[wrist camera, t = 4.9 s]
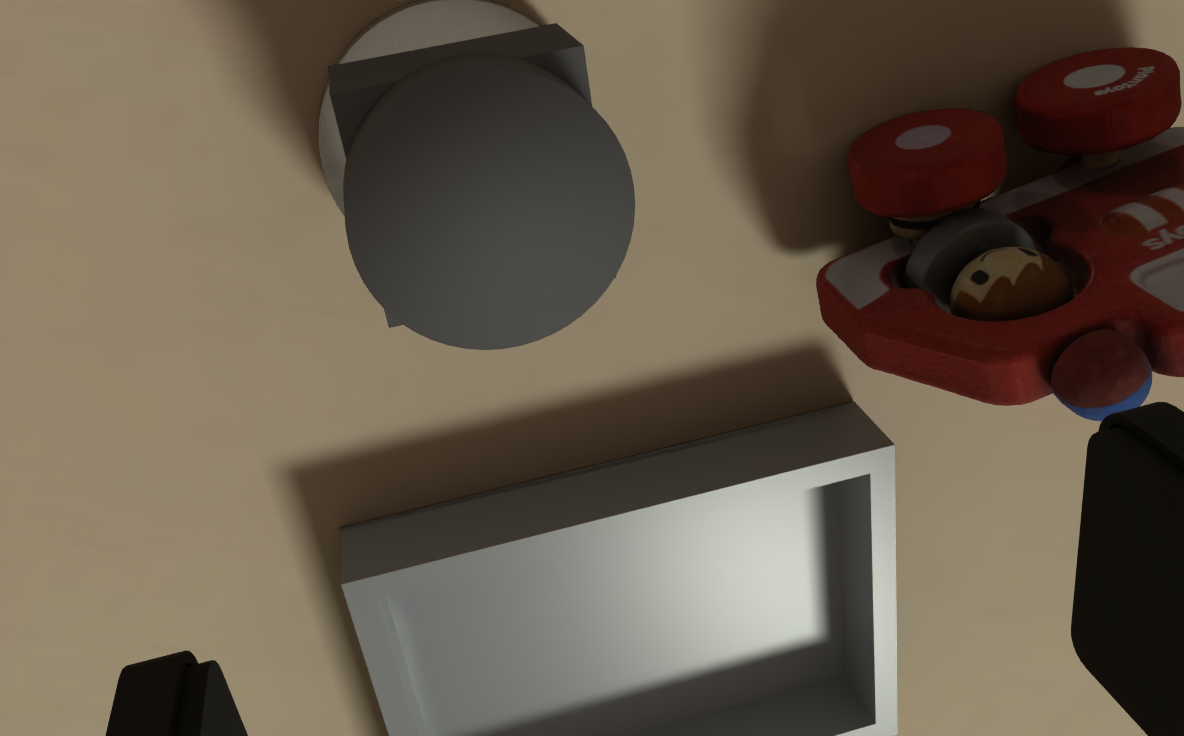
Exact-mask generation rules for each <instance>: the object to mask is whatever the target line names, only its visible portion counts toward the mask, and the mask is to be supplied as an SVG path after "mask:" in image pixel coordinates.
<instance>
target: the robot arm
mask: <svg viewBox="0 0 1184 736" xmlns="http://www.w3.org/2000/svg"><path fill="white" fill-rule="evenodd" d="M1071 637H1072V642H1073V646H1074V648H1075V651H1076V653H1077V655H1078V657H1079V659H1080V661H1081V662H1082V663H1083V665H1084V666H1085V667H1086V669H1087V670H1088V671H1089V672H1090V673H1091V674H1092V675H1093V676H1094V677H1095V678H1096V679H1097V681H1098V682H1099V683H1100V684H1101V685H1102V686H1103V687H1104V688H1105V689H1106V690H1107V691H1108V693H1109V694H1110V695H1111V696H1112V697H1113V698H1114V699H1115V700H1116V701H1117V702H1118V703H1119V705H1120V706H1121V707H1122V708H1123V709H1124V710H1125V711H1126V712H1127V713H1128V714H1129V715H1130V717H1131V718H1132V719H1133V720H1134V721H1135V722H1136V723H1137V724H1138V725H1139V726H1140V727H1141V729H1142V730H1143V731H1144V732H1145V733H1146V734H1147V735H1148V736H1184V412H1183V411H1181V410H1180V409H1178V408H1177V407H1175V406H1173V405H1171V404H1169V403H1167V402H1156V403H1152V404H1148V405H1144V406H1140V407H1136V408H1133V409H1129V410H1125V411H1121V412H1117V413H1113V414H1110V415H1108V416H1106V417H1105V418H1104V419H1103V421H1102V422H1101V424H1100V428H1099V432H1097V433H1095V434H1093V435H1092V436H1091V438H1090V439H1089V442H1088V447H1087V457H1086V468H1085V479H1084V490H1083V501H1082V512H1081V523H1080V535H1079V546H1078V557H1077V568H1076V579H1075V590H1074V601H1073V612H1072V623H1071ZM106 736H248V735H247V732H246V730H245V727H244V725H243V722H242V720H241V717H240V715H239V712H238V710H237V707H236V705H235V702H234V700H233V697H232V695H231V692H230V690H229V688H228V685H227V683H226V680H225V678H224V675H223V673H222V670H221V668H220V666H219V664H218V663H217V662H216V661H214V660H211V661H207V662H204V663H200V664H198V662H197V660H196V658H195V656H194V655H193V654H192V653H191V652H190V651H182V652H178V653H174V654H170V655H167V656H163V657H159V658H155V659H151V660H147V661H143V662H139V663H135V664H131V665H127V666H126V667H124V668H123V669H122V671H121V674H120V677H119V680H118V684H117V689H116V693H115V697H114V702H113V706H112V710H111V714H110V719H109V723H108V727H107V732H106Z"/></svg>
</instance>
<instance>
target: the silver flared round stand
mask: <svg viewBox="0 0 1184 736" xmlns="http://www.w3.org/2000/svg"><path fill="white" fill-rule="evenodd" d="M534 27H539V26H538V25H537V24H536V23H535V22H534V21H532V20H530V19H529V18H527V17H526V16H524V15H523V14H521V13H520V12H518V11H516V10H513V9H511V8H509V7H507V6H505V5H503V4H500V3H497V2H493V1H490V0H416V1H412V2H409V3H407V4H404V5H402V6H400V7H397V8H395V9H393V10H391V11H389V12H387V13H386V14H384V15H382V16H381V17H379V18H377V19H376V20H375V21H373V22H372V23H371V24H369V25H368V26H367V27H366V28H364V29H363V30H362V31H361V32H360V33H359V34H358V35H357V36H356V37H355V38H354V39H353V40H352V41H351V42H350V43H349V45H348V46H347V48H346V49H345V50H344V52H343V53H342V54H341V56H340V57H339V59H338V61H337V62H336V64H335V65H337V64H342V63H348V62H353V61H358V60H364V59H369V58H374V57H380V56H385V55H390V54H395V53H401V52H406V51H411V50H417V49H422V48H427V47H433V46H438V45H443V44H449V43H454V42H459V41H465V40H470V39H475V38H480V37H486V36H491V35H496V34H502V33H507V32H512V31H518V30H523V29H528V28H534ZM318 136H319V153H320V159H321V164H322V169H323V173H324V176H325V179H326V182H327V185H328V188H329V190H330V192H331V194H332V196H333V198H334V200H335V202H336V204H337V206H338V207H339V209H340V210H341V212H342V213H343V215H344V216H345V211H344V195H343V180H344V169H345V164H346V157H345V153H344V149H343V145H342V141H341V137H340V133H339V129H338V125H337V121H336V117H335V114H334V110H333V106H332V102H331V98H330V92H329V79H328V81H327V84H326V87H325V90H324V93H323V97H322V102H321V106H320V113H319V126H318Z"/></svg>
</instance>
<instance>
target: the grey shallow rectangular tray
mask: <svg viewBox="0 0 1184 736" xmlns="http://www.w3.org/2000/svg"><path fill="white" fill-rule="evenodd" d="M339 538H340V568H341V586H342V589H343V592H344V596H345V599H346V602H347V605H348V608H349V611H350V614H351V618H352V621H353V624H354V627H355V630H356V633H357V637H358V640H359V643H360V646H361V649H362V652H363V656H364V659H365V662H366V665H367V668H368V671H369V674H370V678H371V681H372V684H373V687H374V690H375V693H376V697H377V700H378V703H379V706H380V709H381V712H382V715H383V719H384V722H385V725H386V728H387V731H388V734H389V736H893V735H896V734H897V631H896V518H895V445H894V443H893V442H892V441H891V440H890V439H889V438H888V437H887V436H886V435H885V434H884V433H883V432H882V431H881V430H880V428H879V427H878V426H877V425H876V424H875V423H874V422H873V421H872V420H871V419H870V418H869V417H868V416H867V415H866V414H865V412H864V411H863V410H862V409H861V408H860V407H859V406H858V405H857V404H856V403H855V402H851V403H846V404H842V405H838V406H834V407H830V408H826V409H822V410H818V411H814V412H810V413H806V414H802V415H798V416H793V417H789V418H785V419H781V420H777V421H773V422H769V423H765V424H761V425H757V426H753V427H749V428H745V429H741V430H736V431H732V432H728V433H724V434H720V435H716V436H712V437H708V438H704V439H700V440H696V441H692V442H688V443H683V444H679V445H675V446H671V447H667V448H663V449H659V450H655V451H651V452H647V453H643V454H639V455H635V456H631V457H626V458H622V459H618V460H614V461H610V462H606V463H602V464H598V465H594V466H590V467H586V468H582V469H578V470H573V471H569V472H565V473H561V474H557V475H553V476H549V477H545V478H541V479H537V480H533V481H529V482H525V483H521V484H516V485H512V486H508V487H504V488H500V489H496V490H492V491H488V492H484V493H480V494H476V495H472V496H468V497H463V498H459V499H455V500H451V501H447V502H443V503H439V504H435V505H431V506H427V507H423V508H419V509H415V510H411V511H406V512H402V513H398V514H394V515H390V516H386V517H382V518H378V519H374V520H370V521H366V522H362V523H358V524H353V525H349V526H345V527H341V528H339Z"/></svg>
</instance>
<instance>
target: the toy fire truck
mask: <svg viewBox="0 0 1184 736" xmlns="http://www.w3.org/2000/svg"><path fill="white" fill-rule="evenodd" d="M1015 102H1016V108H1017V115H1018V125H1019V131H1020V134H1021V137H1022V139H1023V140H1024V142H1025V143H1026V144H1027V145H1029V146H1030V147H1032V148H1034V149H1036V150H1039V151H1043V152H1047V153H1052V154H1061V155H1071V157H1070V158H1068V159H1067V160H1066V161H1065V162H1064V163H1063V164H1062V166H1061V168H1060V169H1059V170H1057V171H1056V172H1053V173H1051V174H1048V175H1046V176H1044V177H1041V178H1039V179H1037V180H1034V181H1032V182H1029V183H1025V184H1023V185H1021V186H1018V187H1016V188H1013V189H1011V190H1008V191H1005V192H1003V193H1000V194H998V195H996V196H993V197H991V198H988V199H986V200H983V201H981V200H982V199H983V198H985V197H987V196H989V195H990V194H991V193H992V192H994V191H995V190H996V189H997V188H998V187H999V186H1000V185H1001V184H1002V182H1003V180H1004V179H1005V175H1006V172H1007V157H1006V148H1005V136H1004V133H1003V130H1002V128H1001V125H1000V124H999V122H998V121H997V120H996V119H995V118H993V117H991V116H989V115H988V114H985V113H983V112H979V111H975V110H971V109H959V108H954V109H937V110H930V111H923V112H918V113H911V114H907V115H904V116H901V117H898V118H895V119H893V120H890V121H888V122H885V123H882V124H880V125H878V126H877V127H875V128H873V129H871V130H869V131H868V132H866V133H865V134H863V135H862V136H861V137H859V138H858V139H857V140H856V141H855V142H854V143H853V144H852V146H851V149H850V152H849V155H848V166H849V171H850V176H851V181H852V187H853V192H854V195H855V198H856V200H857V201H858V203H859V204H860V205H861V206H862V207H864V208H865V209H866V210H868V211H870V212H872V213H874V214H877V215H880V216H885V217H886V218H887V220H888V221H889V224H890V227H891V229H892V230H893V232H894V233H895V234H896V235H894V236H893V237H890V238H888V239H885V240H882V241H880V242H877V243H875V244H872V245H870V246H868V247H865V248H863V249H860V250H858V251H855V252H853V253H850V254H847V255H845V256H842V257H840V258H837V259H835V260H833V261H831V262H829V263H827V264H826V265H825V266H824V267H823V268H821V269H820V271H819V273H818V276H817V279H816V287H817V293H818V298H819V304H820V310H821V315H822V319H823V321H824V322H825V323H826V325H827V326H828V327H829V328H830V329H831V330H832V331H833V332H834V333H835V334H836V335H837V336H838V337H839V338H840V339H841V340H842V341H843V342H844V343H845V344H846V345H847V346H848V347H849V349H850V350H851V351H852V352H853V353H854V354H855V355H856V356H857V357H858V358H859V359H860V360H861V361H862V362H863V363H865V364H866V365H867V366H868V367H870V368H872V369H875V370H880V371H883V372H886V373H890V374H894V375H897V376H900V377H904V378H907V379H910V380H913V381H916V382H920V383H923V384H927V385H930V386H933V387H937V388H940V389H943V390H946V391H949V392H953V393H956V394H959V395H962V396H965V397H969V398H972V399H975V400H978V401H981V402H984V403H989V404H993V405H1005V406H1010V405H1022V404H1026V403H1030V402H1033V401H1035V400H1038V399H1040V398H1043V397H1045V396H1047V395H1050V394H1052V393H1054V395H1055V396H1056V397H1057V398H1058V399H1059V400H1060V402H1061V403H1062V404H1064V405H1065V406H1066V407H1068V408H1069V409H1070V410H1072V411H1073V412H1074V413H1076V414H1077V415H1079V416H1081V417H1084V418H1086V419H1090V420H1094V421H1103V419H1104V418H1105V417H1106V416H1108V415H1110V414H1113V413H1117V412H1121V411H1125V410H1129V409H1133V408H1136V407H1140V405H1141V404H1142V403H1143V402H1144V401H1145V399H1146V397H1147V395H1148V394H1149V391H1150V388H1151V384H1152V371H1153V372H1156V373H1158V374H1163V375H1167V376H1174V377H1184V127H1174V128H1170V127H1171V126H1172V125H1173V123H1174V122H1175V121H1176V119H1177V117H1178V115H1179V113H1180V109H1181V103H1182V102H1181V92H1180V71H1179V68H1178V66H1177V64H1176V62H1175V61H1174V60H1173V59H1172V58H1171V57H1170V56H1168V55H1166V54H1165V53H1163V52H1160V51H1156V50H1153V49H1146V48H1111V49H1103V50H1096V51H1091V52H1085V53H1081V54H1077V55H1073V56H1070V57H1067V58H1064V59H1061V60H1058V61H1055V62H1053V63H1051V64H1049V65H1047V66H1044V67H1042V68H1040V69H1038V70H1037V71H1035V72H1033V73H1032V74H1030V75H1029V76H1028V77H1027V78H1026V79H1025V80H1024V81H1023V82H1022V83H1021V84H1020V85H1019V87H1018V90H1017V93H1016V98H1015Z"/></svg>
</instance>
